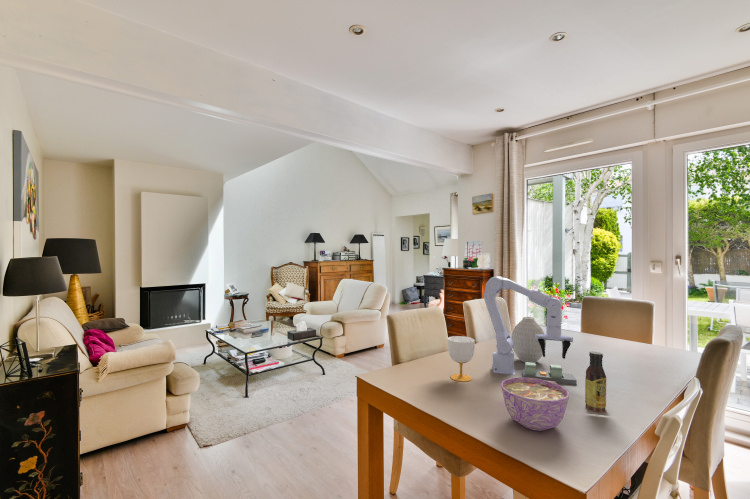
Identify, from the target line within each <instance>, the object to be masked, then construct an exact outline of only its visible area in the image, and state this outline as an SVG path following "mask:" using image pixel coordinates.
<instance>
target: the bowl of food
mask: <svg viewBox="0 0 750 499" xmlns="http://www.w3.org/2000/svg"><path fill="white" fill-rule="evenodd" d="M500 387H501V391H502V396H503V401H504V404H505V407H506V411H507V412H508V414H509V415H510V417H511V418H512V419H513V420H514V421H515V422H517V423H518V424H520V425H521V426H523V427H524V428H526V429H528V430H533V431H539V432H541V431H547V430H550V429H553V428H555V427H558V426H559V424H561V423H562V421H563V420H564V416H565V414H566V411H567V406H568V402H569V399H570V392H569V390H567V389H566V388H565V387H563V386H561V385H560V384H559V383H557V384H555V383H552V382H549V381H546V380H541V379H535V378H525V377H523V376H522V377H520V376H519V377H510V378H506V379H504V380H502V382H500Z"/></svg>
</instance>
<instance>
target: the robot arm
mask: <svg viewBox="0 0 750 499" xmlns="http://www.w3.org/2000/svg"><path fill="white" fill-rule="evenodd" d="M501 290H513V291H514V292H516V293H518V294H520V295H521V294H522V295H523V296H526V297H527V298H528V300H529V302H532V303H533V304H536V305H538V306H541V307H542V308H546V320H545V321H546V328H545V329H546V332H545V333H546V334H545V333H544V334H535V339H536V340H538V342H539V344H540V346H541V349H542V354H543V355H542V357H543V358H546V348H545V341H544V340H546V341H556V342H561V345H562V347H561V348H562V352H561V355H562V356H561V357H562V359H563V360H565V359H566V355H567V353H568V350H569V349H570V347H571V344H572V343H574V337H572V336H567V335H566V336H565V335H562V315H561V314H562V310H561V309H562V301H561V300H560V299H559V298H558V297H557V296H553V295H552V294H547V293H545V292H542V290H541V289H539V288H538V289H536V288H534V289H530V288H528V287H525V286H523V285H522V284H520V283H517V282H515V281H513V280H512V279H509V278H506V277H503V276H500V275H497V276H492V277H490V278H489V279H488V281H487V282H486V283H485V288H484V294H483V299H484V302H485V305H486V308H487V311H488V313H489V318H490V320H491V323H492V327H493V330H494V332H495V340H496V350H497V351H492V364H491V368H492V372H493V374H503V375H512V376H514V375H516V371H515V356H514V355H515V352H514V350H513V347H514V341H513V339H512V338H511V335H510V333H509V331H508V330H507V328H506V325H505V321H504V319H503V315H502V313H501V310H500V306H499V304H498V300H497V298H496V297H498V294H499V292H500V291H501Z"/></svg>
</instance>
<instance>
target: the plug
mask: <svg viewBox="0 0 750 499" xmlns="http://www.w3.org/2000/svg"><path fill="white" fill-rule="evenodd" d="M549 372H550V377H558V378H562V373H563V367H562V366H561V365H560V364H549Z"/></svg>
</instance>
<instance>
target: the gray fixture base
mask: <svg viewBox="0 0 750 499" xmlns="http://www.w3.org/2000/svg"><path fill="white" fill-rule="evenodd" d="M524 367H525V368H524V369H522V371H521V374H522V377H525V378H535V379H541V380H546V381H555V382H556V383H557V384H562V385H571V386H572V385H574V386H577V385H578V384H577V379H576V377H575V376H574V375H573V374H572V373H564V372H562V378H558V377H550V371H544V370H543V371H542V370H537V364H536V363H532V362H525V363H524Z"/></svg>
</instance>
